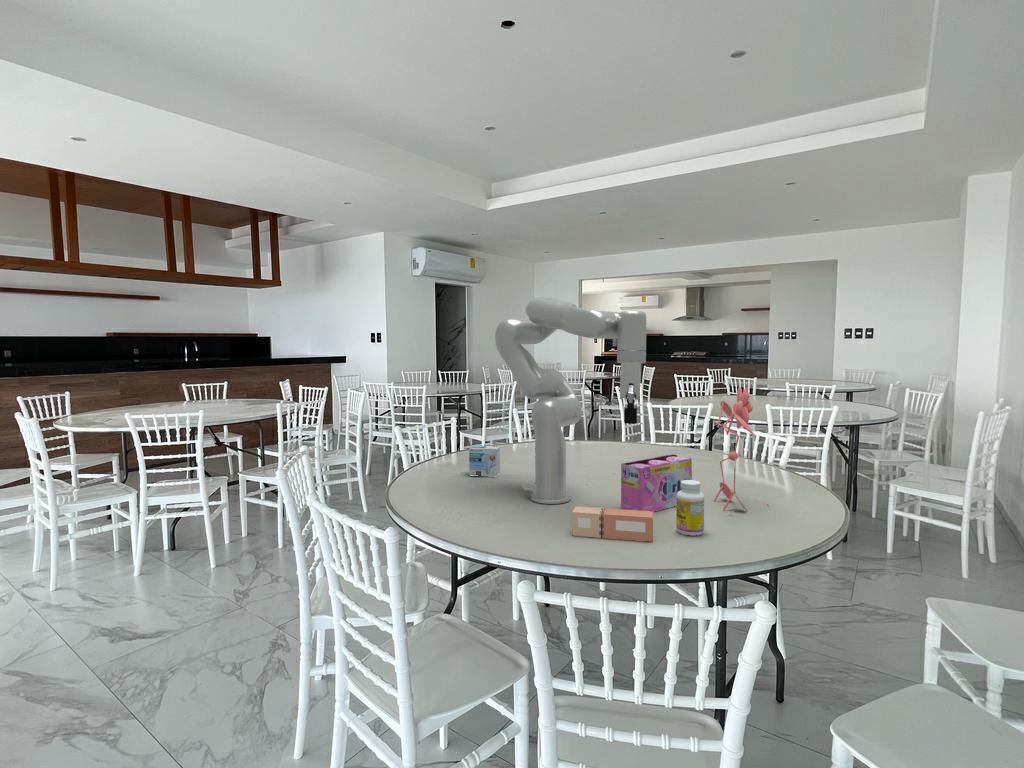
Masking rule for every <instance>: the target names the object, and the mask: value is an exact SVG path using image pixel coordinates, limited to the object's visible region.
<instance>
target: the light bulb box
mask: <svg viewBox="0 0 1024 768" xmlns="http://www.w3.org/2000/svg"><path fill="white" fill-rule="evenodd" d="M468 455H469V456H468V458H469V459H468V466H469V467H468V472H469V475H478V476H497V475H498V474H499V473H500V474H501V446H500V445H476V444H475V445H474V444H473V445H472V446H471V447H469V448H468ZM469 475H468V476H469Z"/></svg>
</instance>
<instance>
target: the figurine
mask: <svg viewBox="0 0 1024 768" xmlns="http://www.w3.org/2000/svg"><path fill="white" fill-rule="evenodd" d="M736 393H737V394H736V402H735V403H734V404H733V405H732V407H731V405H729V403H728V402H726V401H725V400H724V399H723V400H721V401H720V411H719V416H718V418H717V419H718V420H717V426H718V427H723V428H724V432H725V434H726V435H727V436H728V435H729V433H730V432H731V433H733V434H734V435H735V436H736V441H735V446H734V451H730V452H729V453H728V454H727V455H728V457H727V458H725V459H724V458H723V459H722V460H720V461H719V464H720V471H721V476H722V477H721V478H722V481H720V482H719V491H718V492H717V494H716V495H715V497H714V499H713V502H716V501H717V500H718V498H719V496H720V494H721V492H722V493H723V495H725V496H726V498H727V502H726V503H725V504H724V506H723V508H722V510H723V511H725V510H726V509H727V507H728V505H729V503H730V501H731V500H732V497H733V496H735V498H736V499H737V501H738V502H739V503H740V505H741V506H742V508H743V509H744V510H745V512H748V510H747V508H746V507H745V505H744V504H743V503H742V501H741V500H740V499H739V498H738V497H739V496H738V495H736V471H737V470H736V467H737V460H738V458H739V454H738V452H736V451H737V447H738V443H739V439H740V435H739V434H738V433H737V432H735V431H734V430H732V428H731V427H732V424H733V421H734V419H735V421H736V428H737V430H739V429H740V428H741V426H742V427H743V429H744V430H746V431H747V432H749V433H750V434H751V435H752V436H754V435H755V433H754V431H753V430H752V429H751V427H750V426H749V421H750V413H751V412H753V407H754V406H753V404H752V402H751V401H750V400H749V399H750V392H749V388H748V387H745V388H744V389H742V387H741V386H738V388H737V392H736ZM723 412H724V413H725V415H727V416H728V417H729V418H728V419H727V421H726V422H725V423H723V424H721V420H722V419H721V418H722V413H723ZM728 423H729V425H728ZM727 425H728V426H727ZM727 460H730V461H733V462H734V466H733V488H730V487H729V486H728V485H727V483H725V478H724V470H723V464H722V462H724V461H727ZM760 503H761V504H763V502H762V501H760ZM764 505H766V506H767V507H768V508H769V510H771V508H770V505H769V504H765V503H764ZM729 516H731V517H733V516H734V515H733V514H729Z"/></svg>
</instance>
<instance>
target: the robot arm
mask: <svg viewBox="0 0 1024 768" xmlns="http://www.w3.org/2000/svg"><path fill="white" fill-rule="evenodd" d="M525 314H526V317H527V318H525V317H509V318H505V319H503V320H501V321H500V322H499V323H498V325H497V326H496V329H495V334H494V341H495V342H494V343H495V346H496V349H497V351H498V353H499V355H500V357H501V358H502V360H503V361H504V363H505V364H506V365H507V367H508V369H509V371H510V372H511V374H512V376H513V378H514V380H515V381H516V384H517V385H518V387H519V388H520V390H521V392H522V393H523V395H524V396H525V397H526V398H527V399H528V400H537V401H536V402H535V403H534V404H533V405H532V408H531V413H530V414H531V421H532V422H531V423H532V427H533V433H534V460H535V463H534V467H535V468H534V469H535V470H534V471H535V477H534V479H535V482H534V483H532V484H526V483H522V486H521V490H522V491H524V492H528V493H529V492H530V493H531V494H530V500H531V501H533V502H535V503H538V504H545V505H558V504H559V505H560V504H564V503H568V502H570V501H571V500H572V494H571V493H569V492H568V491H567V443H566V437H565V434H564V433H563V429H562V428H563V427H569V426H572V425H575V424H578V422H579V421H580V420H581V419H582V416H583V408H582V404H581V402H580V400H579V398H578V397H577V394H576V393H575V392H574V390H573V388H572V386H571V385H570V383H569V382H568V380H567V379H566V377H565V376H564V374H563V373H561V372H560V371H559V370H557V369H554V368H542V367H541V366H539V364H538V363H537V361H536V360H535V358H534V356H533V355H532V354H531V353H530V351H528V350H527V349H526V348H525V347H524V346H523V345H537V344H540V343H542V342H543V341H545V340H546V339H547V338H549V337H550V336H552V334H553V333H555V332H556V331H557V330H560V331H563V332H565V333H567V334H572V335H574V336H575V335H576V336H579V337H584V338H588V339H593V340H594V339H595V340H596V339H599V340H601V339H603V340H606V339H607V340H615V339H616V341H617V344H616V345H617V348H616V349H617V350H616V351H617V352H616V356H617V357H616V363H617V364H620V373H619V374H620V377H619V378H620V379H619V384H620V385H619V386H620V387H619V399H620V401H624V400H623V399H625V403H624V409H623V410H624V411H623V413H624V415H623V417H624V418H623V422H624V424H632V425H633V424H634V425H636V424H637V423H638V421H637V420H638V415H637V414H638V407H637V406H638V404H637V401H638V400H639V398H640V391H641V380H642V379H641V377H642V364H646V363H647V360H646V359H647V314H646V312H644V311H642V310H624V311H619V312H617V311H606V310H594V309H593V310H592V309H587V308H581V307H578V306H577V305H576V304H575V303H574V302H571V301H563V300H562V299H560V298H554V297H553V298H552V297H545V296H544V297H541V296H540V297H539V296H538V297H535V298H532V299H531V300H530V301H529V302H528V303H527V304H526V307H525Z"/></svg>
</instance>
